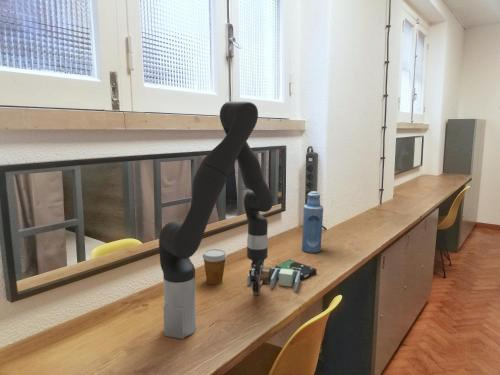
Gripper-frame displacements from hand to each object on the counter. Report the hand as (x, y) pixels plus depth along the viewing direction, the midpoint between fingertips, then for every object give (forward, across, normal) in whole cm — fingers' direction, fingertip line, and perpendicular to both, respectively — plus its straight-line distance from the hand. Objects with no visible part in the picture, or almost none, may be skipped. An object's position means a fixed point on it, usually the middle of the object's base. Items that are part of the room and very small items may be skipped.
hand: (256, 289), depth 132 cm
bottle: (+2, +54, -15) cm, 56 cm away
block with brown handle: (+2, +7, 0) cm, 7 cm away
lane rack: (+2, +10, -5) cm, 12 cm away
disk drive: (+2, +24, -11) cm, 27 cm away
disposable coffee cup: (+2, +6, +19) cm, 19 cm away
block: (+2, +12, -9) cm, 15 cm away
